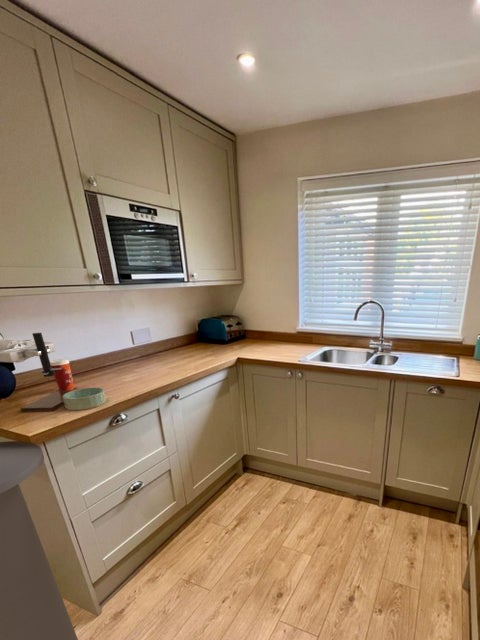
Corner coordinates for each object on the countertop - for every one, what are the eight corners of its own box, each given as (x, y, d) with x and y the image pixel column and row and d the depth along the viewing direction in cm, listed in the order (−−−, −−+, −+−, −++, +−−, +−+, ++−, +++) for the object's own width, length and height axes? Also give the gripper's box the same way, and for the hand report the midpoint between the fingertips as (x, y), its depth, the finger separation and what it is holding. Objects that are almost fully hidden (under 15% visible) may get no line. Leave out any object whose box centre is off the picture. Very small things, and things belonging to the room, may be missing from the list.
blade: (59, 377, 131) (46, 334, 125) (31, 379, 128) (17, 335, 122) (65, 371, 139) (54, 330, 133) (39, 373, 136) (27, 332, 130)
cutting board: (52, 411, 130) (51, 407, 129) (21, 411, 129) (20, 408, 129) (83, 394, 148) (83, 391, 148) (56, 394, 148) (55, 391, 148)
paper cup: (76, 390, 153) (68, 361, 148) (56, 393, 150) (47, 363, 145) (77, 386, 160) (69, 357, 155) (58, 388, 156) (49, 359, 151)
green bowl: (93, 410, 130) (90, 398, 128) (57, 411, 130) (53, 399, 128) (113, 397, 143) (110, 387, 142) (80, 398, 143) (77, 387, 141)
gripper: (-17, 349, 121) (16, 349, 119) (34, 339, 140) (63, 339, 138) (-11, 365, 124) (21, 366, 122) (39, 353, 142) (67, 354, 141)
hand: (44, 352), depth 130 cm, fingers closed on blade, 3 cm apart
